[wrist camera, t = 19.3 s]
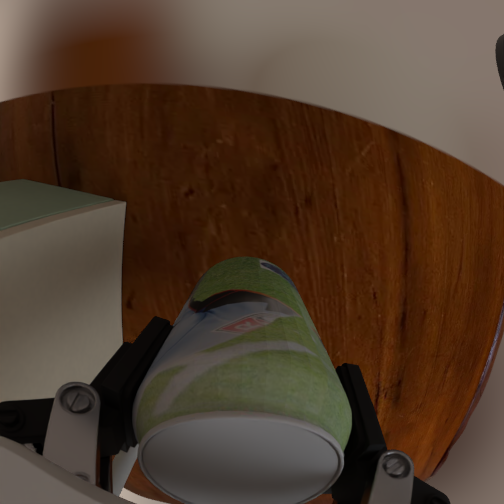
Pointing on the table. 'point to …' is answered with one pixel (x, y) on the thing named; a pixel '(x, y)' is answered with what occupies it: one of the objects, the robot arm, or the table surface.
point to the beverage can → (242, 396)
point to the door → (62, 305)
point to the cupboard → (39, 201)
